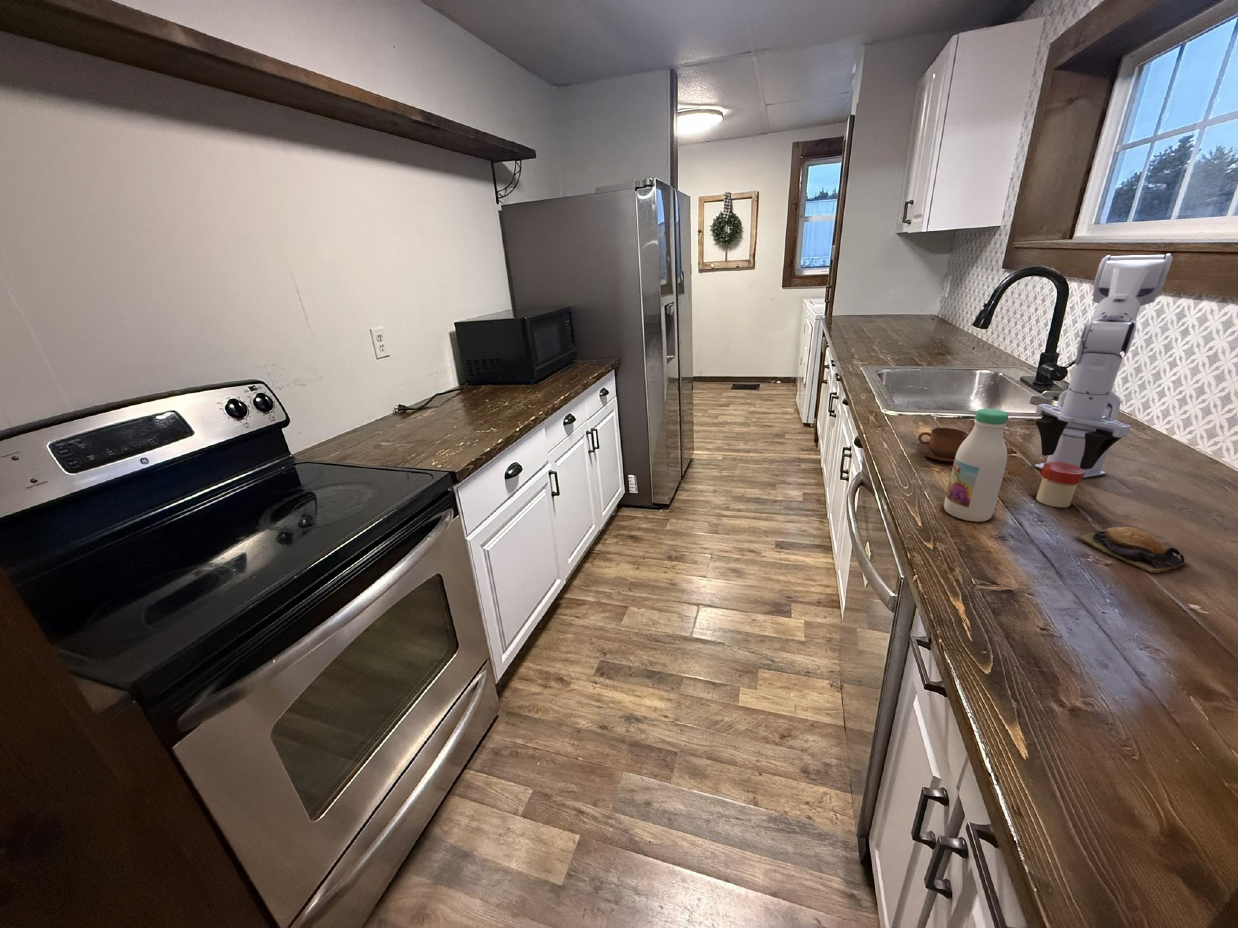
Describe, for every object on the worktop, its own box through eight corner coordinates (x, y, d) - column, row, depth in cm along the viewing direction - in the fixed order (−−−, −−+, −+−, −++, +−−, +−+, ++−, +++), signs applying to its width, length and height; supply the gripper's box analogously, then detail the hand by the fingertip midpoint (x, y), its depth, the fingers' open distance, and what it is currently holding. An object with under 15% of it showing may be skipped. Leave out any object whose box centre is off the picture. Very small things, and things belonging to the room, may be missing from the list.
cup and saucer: (919, 463, 116) (924, 438, 114) (912, 446, 126) (917, 423, 124) (980, 469, 112) (986, 443, 110) (968, 450, 122) (973, 426, 120)
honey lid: (1062, 486, 92) (1065, 475, 91) (1032, 473, 97) (1035, 463, 96) (1090, 482, 92) (1094, 472, 92) (1058, 470, 98) (1062, 460, 97)
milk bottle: (984, 505, 96) (1011, 406, 89) (997, 525, 90) (1027, 419, 82) (938, 501, 99) (960, 404, 91) (948, 519, 92) (973, 416, 84)
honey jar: (1048, 493, 100) (1058, 464, 97) (1077, 504, 95) (1088, 474, 93) (1029, 497, 98) (1038, 468, 96) (1057, 509, 94) (1067, 478, 91)
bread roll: (1074, 540, 84) (1080, 521, 83) (1111, 532, 86) (1118, 513, 85) (1150, 575, 75) (1159, 554, 73) (1190, 564, 76) (1200, 544, 75)
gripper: (1031, 384, 94) (1012, 450, 99) (1117, 403, 81) (1090, 479, 86) (1060, 380, 95) (1041, 446, 101) (1150, 399, 82) (1122, 473, 88)
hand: (1066, 461), depth 94 cm, fingers open, 6 cm apart
